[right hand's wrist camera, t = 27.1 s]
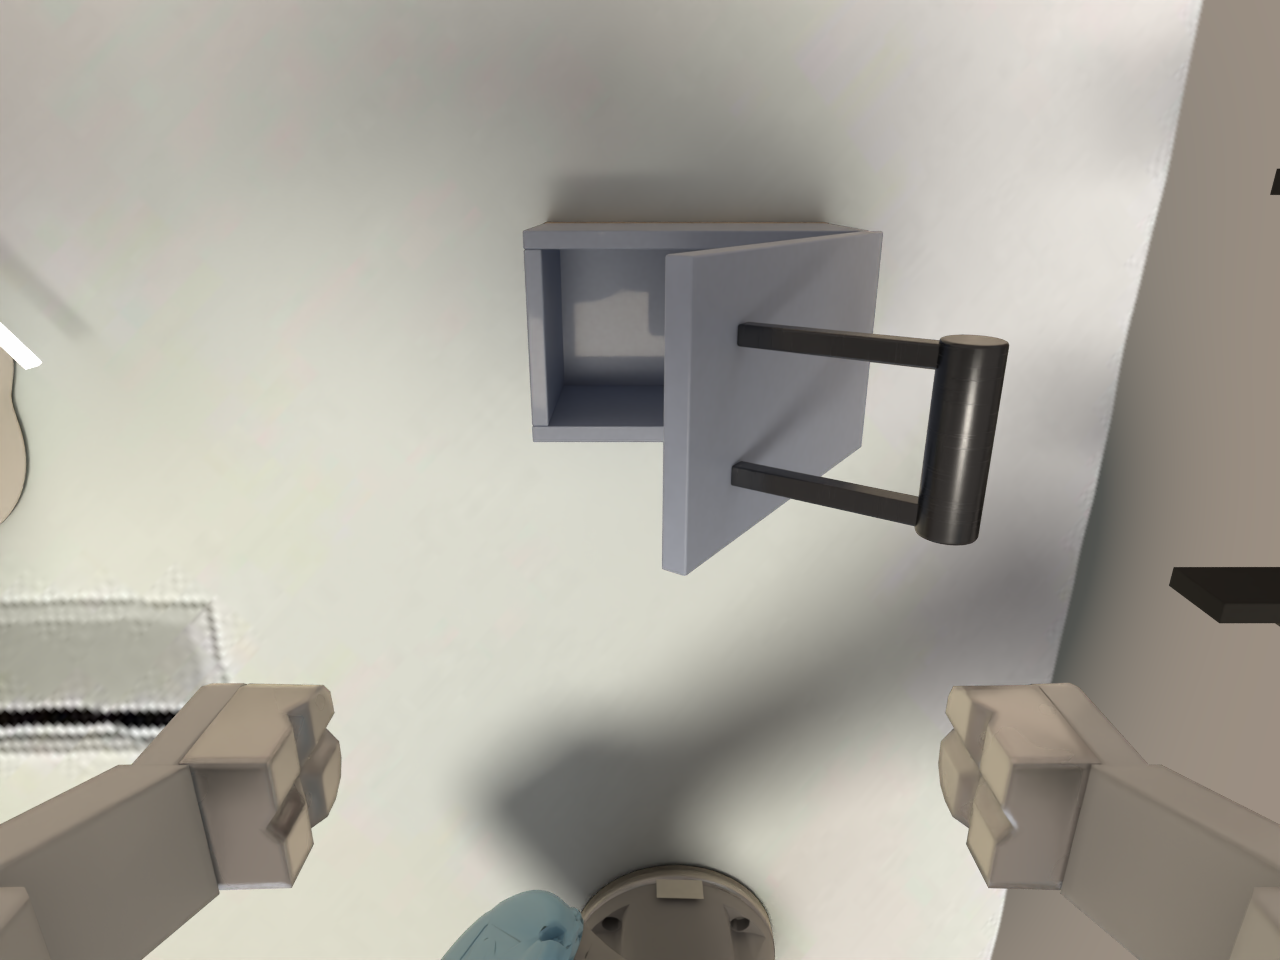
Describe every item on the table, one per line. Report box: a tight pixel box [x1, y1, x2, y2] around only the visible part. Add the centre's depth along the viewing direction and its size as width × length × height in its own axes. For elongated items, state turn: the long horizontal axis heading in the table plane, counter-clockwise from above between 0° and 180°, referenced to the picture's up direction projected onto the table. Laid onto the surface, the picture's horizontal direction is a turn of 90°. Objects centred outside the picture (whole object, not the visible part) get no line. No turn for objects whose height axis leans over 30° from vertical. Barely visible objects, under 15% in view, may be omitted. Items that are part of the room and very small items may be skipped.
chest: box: [523, 222, 868, 442], centre depth 40 cm, size 15×10×9 cm, turn 90°
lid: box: [662, 231, 1009, 576], centre depth 27 cm, size 16×10×9 cm
